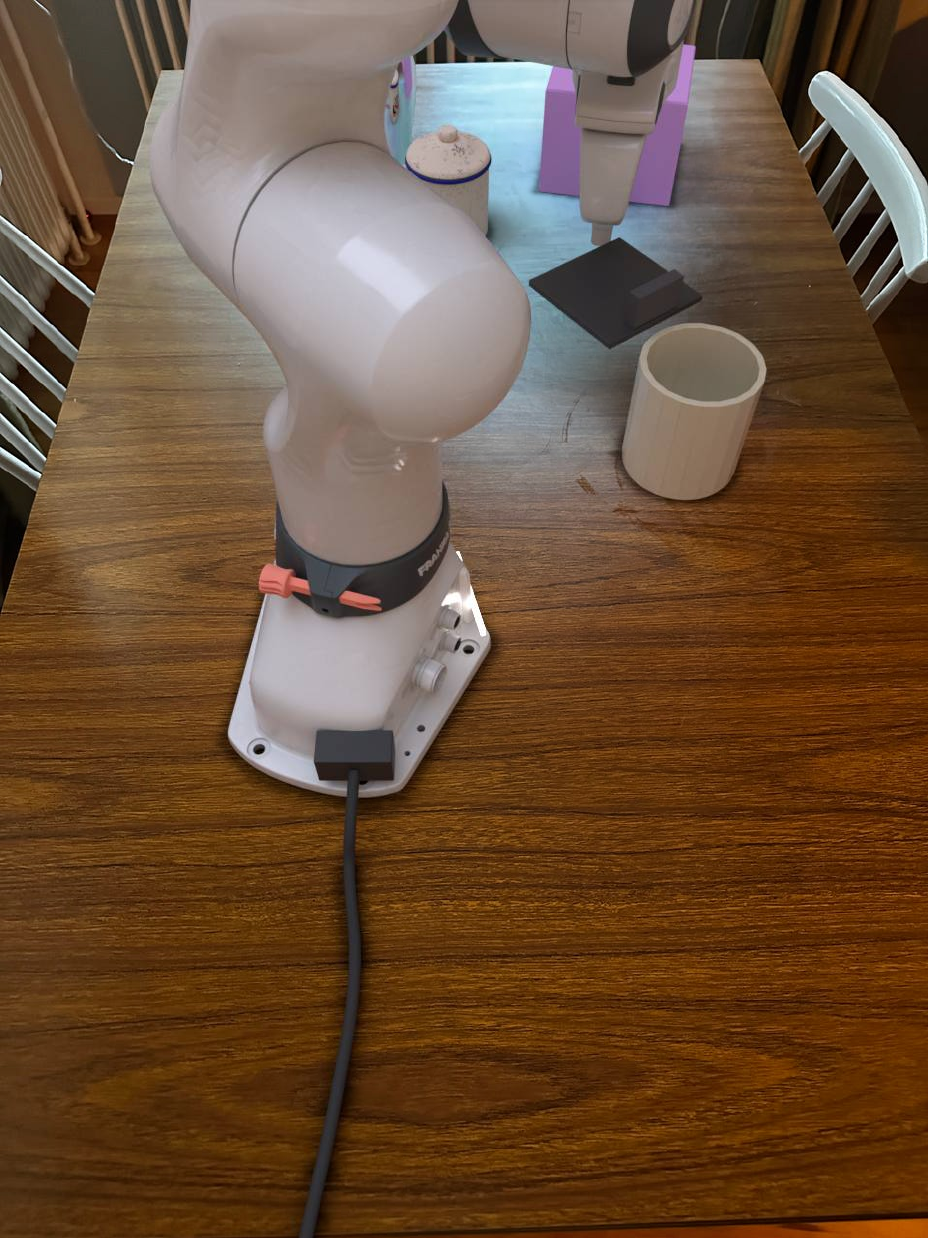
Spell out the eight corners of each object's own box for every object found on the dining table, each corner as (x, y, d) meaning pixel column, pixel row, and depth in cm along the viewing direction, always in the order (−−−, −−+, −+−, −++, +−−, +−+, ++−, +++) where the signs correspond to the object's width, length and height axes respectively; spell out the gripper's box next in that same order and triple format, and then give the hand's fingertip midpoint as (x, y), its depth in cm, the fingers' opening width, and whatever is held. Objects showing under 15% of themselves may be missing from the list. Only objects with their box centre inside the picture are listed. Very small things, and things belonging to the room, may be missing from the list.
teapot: (528, 226, 107) (536, 100, 96) (560, 113, 121) (570, -9, 110) (663, 242, 106) (688, 115, 94) (679, 125, 120) (702, 3, 108)
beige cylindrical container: (758, 466, 86) (792, 371, 77) (676, 517, 83) (702, 424, 74) (679, 404, 91) (702, 307, 82) (598, 450, 87) (614, 354, 78)
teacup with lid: (493, 210, 109) (496, 107, 100) (485, 258, 104) (487, 155, 94) (390, 204, 110) (382, 101, 100) (377, 251, 105) (368, 147, 95)
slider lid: (701, 301, 82) (710, 264, 79) (609, 349, 78) (615, 313, 75) (618, 242, 87) (624, 205, 84) (528, 285, 83) (530, 249, 80)
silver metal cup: (353, 162, 115) (340, 28, 103) (406, 149, 117) (399, 15, 104) (374, 192, 111) (363, 56, 99) (429, 178, 113) (425, 43, 101)
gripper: (603, 0, 85) (587, 150, 97) (572, 117, 74) (558, 272, 85) (673, 6, 85) (649, 157, 96) (654, 125, 73) (629, 280, 85)
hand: (606, 212), depth 91 cm, fingers open, 8 cm apart
